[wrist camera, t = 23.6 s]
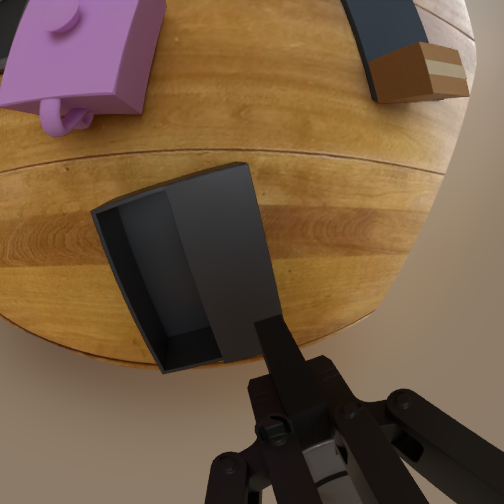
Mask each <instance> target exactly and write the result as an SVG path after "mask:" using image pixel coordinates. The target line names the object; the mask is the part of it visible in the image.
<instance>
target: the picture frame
mask: <svg viewBox="0 0 504 504" xmlns="http://www.w3.org/2000/svg"><path fill="white" fill-rule="evenodd" d="M29 1H30V0H0V74H2V73H4V70H5V67H6V63H7V60H8V56H9V53H10V50H11V46H12V43H13V40H14V38H15V35H16V32H17V29H18V27H19V24H20V22H21V19H22V17H23V14H24V12H25V10H26V7H27V5H28V3H29Z"/></svg>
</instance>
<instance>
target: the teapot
mask: <svg viewBox="0 0 504 504" xmlns="http://www.w3.org/2000/svg"><path fill="white" fill-rule="evenodd" d="M166 8H167V6H166V1H165V0H30V1H29V3H28V5H27V7H26V10H25V12H24V14H23V17H22V19H21V22H20V24H19V27H18V29H17V32H16V35H15V38H14V40H13V43H12V46H11V50H10V53H9V56H8V60H7V63H6V67H5V70H4V74H3V78H2V83H1V87H0V108H4V109H10V110H16V111H21V112H27V113H32V114H37V115H40V121H41V125H42V128H43V130H44V131H45V133H46V134H48V135H49V136H52V137H61V136H65V135H67V134H68V133H70V132H71V131H72V130H73V129H74V128H75V129H78V130H83V129H86V128H88V127H89V126H90V124H91V122H92V119H93V116H94V114H142V110H143V104H144V99H145V93H146V88H147V83H148V78H149V73H150V69H151V64H152V60H153V56H154V51H155V47H156V43H157V40H158V36H159V32H160V28H161V25H162V21H163V18H164V14H165V11H166ZM61 116H65V117H64V118H63V119H62V120H61Z"/></svg>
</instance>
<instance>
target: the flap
mask: <svg viewBox="0 0 504 504" xmlns="http://www.w3.org/2000/svg"><path fill="white" fill-rule="evenodd" d="M165 190H166V194H167V197H168V201H169V204H170V207H171V211H172V214H173V217H174V221H175V224H176V227H177V230H178V234H179V237H180V240H181V243H182V246H183V249H184V252H185V255H186V258H187V261H188V264H189V267H190V270H191V273H192V276H193V279H194V282H195V285H196V288H197V290H198V293H199V296H200V299H201V302H202V304H203V307H204V310H205V313H206V315H207V318H208V321H209V323H210V326H211V329H212V331H213V334H214V336H215V339H216V342H217V344H218V347H219V349H220V352H221V354H222V357H223V359H224V362H225V364H226V363H230V362H234V361H238V360H242V359H246V358H249V357H253V356H256V355H260V354H263V353H262V350H261V346H260V343H259V340H258V336H257V333H256V329H255V326H254V322H257V321H260V320H263V319H267V318H270V317H273V316H276V315H279V314H281V316H282V318H283V314H282V310H281V305H280V300H279V296H278V291H277V287H276V282H275V278H274V273H273V269H272V264H271V260H270V256H269V251H268V247H267V242H266V238H265V234H264V229H263V225H262V221H261V216H260V212H259V208H258V204H257V199H256V195H255V191H254V187H253V182H252V178H251V174H250V170H249V166H248V164H243V165H239V166H235V167H231V168H227V169H223V170H219V171H215V172H212V173H208V174H204V175H201V176H197V177H194V178H190V179H187V180H183V181H180V182H177V183H173V184H170V185H167V186H165ZM283 320H284V319H283Z"/></svg>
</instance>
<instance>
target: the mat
mask: <svg viewBox="0 0 504 504" xmlns="http://www.w3.org/2000/svg"><path fill="white" fill-rule="evenodd" d="M341 1H342V3H343V6H344V9H345V11H346V14H347V16H348V19H349V22H350V25H351V27H352V30H353V33H354V36H355V39H356V42H357V45H358V49H359V52H360V55H361V58H362V62H363V65H364V69H365V72H366V76H367V80H368V84H369V88H370V92H371V96H372V100H378V99H377V95H376V90H375V86H374V82H373V79H372V75H371V71H370V68H369V64H368V62H369V61H372V60H374V59H376V58H379V57H381V56H383V55H386V54H388V53H391V52H393V51H396V50H398V49H401V48H403V47H406V46H409V45H411V44H414V43H417V42H424V43H429V42H428V39H427V36H426V33H425V30H424V28H423V25H422V22H421V20H420V17H419V15H418V12H417V10H416V7H415V5H414V3H413V1H412V0H341ZM437 100H444V99H437Z"/></svg>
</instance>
